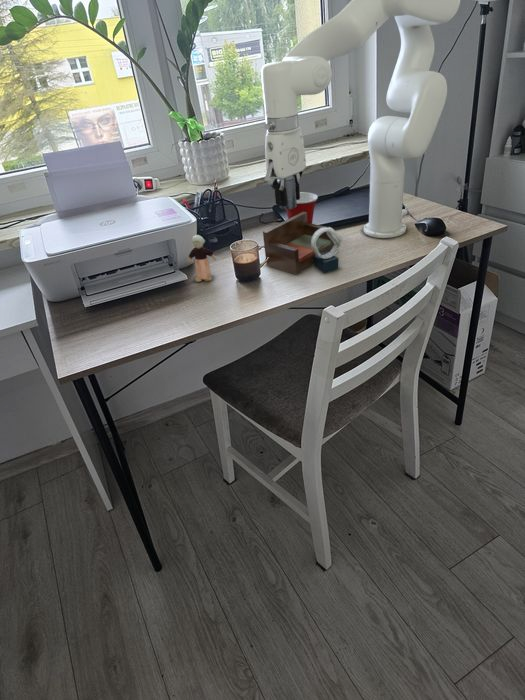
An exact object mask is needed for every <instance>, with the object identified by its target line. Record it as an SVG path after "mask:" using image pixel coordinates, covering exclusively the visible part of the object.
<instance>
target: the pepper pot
mask: <svg viewBox="0 0 525 700" xmlns="http://www.w3.org/2000/svg"><path fill="white" fill-rule="evenodd" d="M279 180H280V179H278V181H277V182H278V183H279ZM283 190H286V201H287V205H286V206H280V205H279V208H280V209H281V210H286V209H293V208H295V207H296V206H297V199H296V184H295V177H294V175H292V176H289V177H287V178H284V189H283Z"/></svg>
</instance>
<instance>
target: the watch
mask: <svg viewBox="0 0 525 700" xmlns="http://www.w3.org/2000/svg"><path fill="white" fill-rule="evenodd" d="M327 227H329V228H327ZM332 228H333V227H330V226H325V227H323V228H320V229H318V230H317V231H316V232H315V234H313V237H312V239H311V248H312V250H313V251H314V253H315V254H316V255H314V265H313V266H314V267H315V268H316V269H318V270H319V271H320V272H322V273H323V274H327V273H331V272H334V271H337V270H339V257H337V256H335V255H336V254H337V253H338V252H339V250H340V247H341V245H342V243H341V242H342V241H343V240H342V238H341V236H340V235H339V234H338V232H337V231H336V230H335V228H334V229H332ZM324 232H326V234H327V235H328V237H329V238H330V239H331V240H332V241H333V243H334V246H333V248H332V249H331V251H330V252H328V251H327V252H324V253H320V252H319V251H318V248H317V247H316V243H315V242H316V240H317V238H318V237H319V236H320V235H321V234H322V233H324Z"/></svg>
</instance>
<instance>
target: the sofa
mask: <svg viewBox="0 0 525 700" xmlns="http://www.w3.org/2000/svg"><path fill="white" fill-rule="evenodd" d="M323 227H327V228H329V227H330V226H325V225H320V224H315V223H313V222H312V223H308V222H307V212H301V213H299V214H297V215H295V216H293V217H291V218H289V219H288V218H287V219H285V220H283V221H281V222H279V223H277V224H276V225H273V226H272V227H269V228H267V229H266V230H263V231H262V235H263V246H264V254H265V260H266V259H267V257H269V259H268V261H267V262H266V261H265V265H266V266H267V267H270V268H273V269H276V270H280V271H282V272H285V273H288V274H291V275H295V276H297V275H299V274H301V273H302V272H304V271H306V270H308V269H309V268H310V267H312V266H314V255H316V254H315V253H314V251H313V250H312V248H311V239H312V237H313V234H315V232H316V231H317V230H318V229H320V228H323ZM331 228H332V229H334V230H335V228H334V227H331ZM315 243H316V247H317V248H318V251H319V252H320V253H324V252H327V251H328V252H330V251H331V249H332V248H333V246H334V243H333V241H332V240H331V239H330V238H329V237H328V235H327V234H326V232H324V233H322V234H321V235H320V236H319V237H318V238H317V240H316V242H315Z"/></svg>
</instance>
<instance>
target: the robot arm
mask: <svg viewBox="0 0 525 700" xmlns="http://www.w3.org/2000/svg"><path fill="white" fill-rule="evenodd" d="M460 5H461V0H350V1H349V2H348V3H347V4H346V5H345V6H344V7H343V8H342V9H341V10H340V11H339V12H338V13H336V14H335V15H334V16H333V17H331V18H330V19H328V20H327V21H326V22H325V21H324V23H322V24H321V25H319V26H318V27H317V28H316V29H314V30H312V31H311V32H309V33H308V34H307V35H306V36H304V37H303V38H302V39H301V40H299V42H297V43H296V44H295V45H294V46H293V47H292V48H291V49H290V50H289V51H288V52H287V53H286V54H285V56H283V58H282V60H280V61H272V62H268V63H266V64H264V65H263V66H262V67H261V72H260V73H261V86H262V96H263V106H264V107H263V108H264V117H265V124H264V129H265V130H266V133H265V140H264V141H265V142H264V156H265V169H266V174H265V176H264V183H266V184H268V185H269V186H270V187H271V188H272V190H274V198H275V205H277V206H279V207H280V206H286V205H287V201H286V190H283V189H284V178H287V177H289V176H292V175H294V177H295V184H296V199H297V200H299V199H300V192H301V191H300V190H301V189H300V184H301V181H302V180H301V178H302V176H303V173H304V171H305V169H306V168H307V159H306V147H305V142H304V136H303V132H302V128H301V126H300V125H299V110H298V97H299V96H313V95H314V96H315V95H318V94H320V93H323V92H324V91H325V90H327V88H328V87H329V86H330V83H331V82H332V78H333V77H332V76H333V71H332V67H331V64H330V63H329V61H332V60H334V59H336V58H339V57H342V56H346V55H348V54H350V53H353V52H355V51H356V50H358V49H360V48H361V47H363V46H364V44H365V43H366V42H367V41H368V40H369V39H370V38H371V37H372V36H373V35H374V34H375V33H376V32H377V30H378V29H379V28H380V27H382V26H383V25H384V24H385V22H387V20H389V19H390V18H393V17H394V20H395V23H396V25H397V28H398V31H399V36H400V50H399V53H398V57H397V61H396V62H395V63H396V64H395V67H394V69H393V73H392V75H391V79H390V81H389V85H388V88H387V90H386V91H387V92H386V97H385V101H386V106H387V107H388V108H389V109H390V110H393V111H395V112H398V113H405V114H410V115H409V117H404V116H402V117H401V116H395V115H384V116H380V117H378V118H376V119H375V120H373V122H372V123H371V125H370V126H369V129H368V132H367V148H368V153H369V166H370V167H369V170H370V171H369V173H370V174H369V200H368V202H369V204H368V205H369V207H368V222H367V223H366V224H364V226H363V229H362V230H363V233H364V234H365V235H367V236H369V237H371V238H376V239H377V238H378V239H392V238H396V237H399V236H401V235H404V234H405V233H406V231H407V225H406V224H405V222H403V221H402V219H403V218H404V217H405V216H407V215H408V210H407V209H405V208H403V204H404V190H405V176H406V168H405V162H404V161H405V160H417V159H419V158H420V157H422V156H423V155H424V154H425V153H426V151H427V150H428V148H429V146H430V144H431V142H432V139H433V136H434V134H435V131H436V129H437V126H438V124H439V120H440V118H441V115H442V112H443V110H444V107H445V104H446V100H447V96H448V84H447V79H446V78H445V76H444V75H443V74H441V73H440V72H438V71H435V70H430V68H431V65H432V62H433V60H434V59H433V58H434V55H435V39H434V35H433V32H432V29H431V26H433V25H434V26H438V25H443V24H446V23H448V22H449V21H450V20H452V19H453V18H454V17H455V15H456V14H457V12H458V11H459V8H460ZM404 159H405V160H404ZM278 179H280V180H279V183H278Z"/></svg>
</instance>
